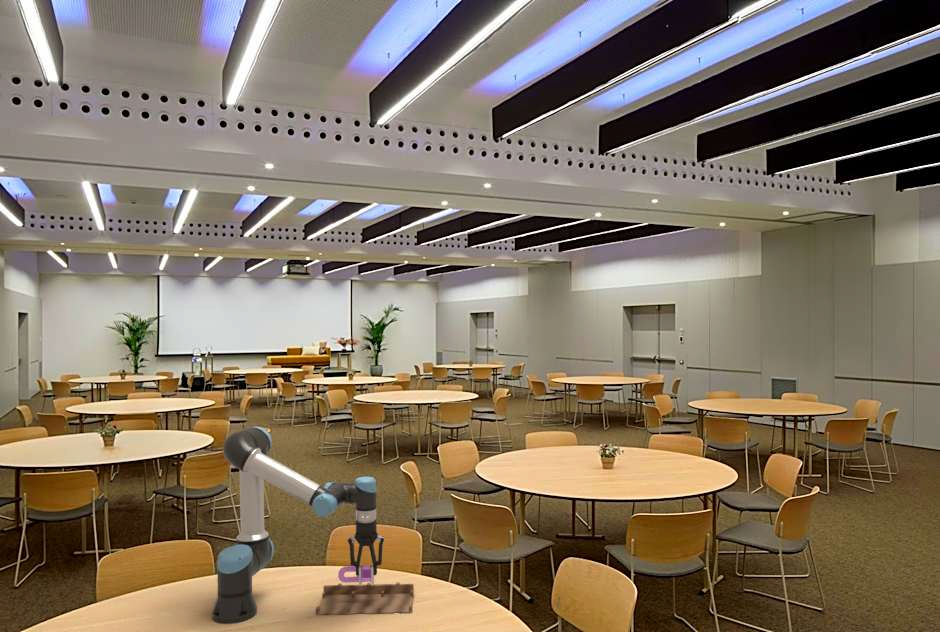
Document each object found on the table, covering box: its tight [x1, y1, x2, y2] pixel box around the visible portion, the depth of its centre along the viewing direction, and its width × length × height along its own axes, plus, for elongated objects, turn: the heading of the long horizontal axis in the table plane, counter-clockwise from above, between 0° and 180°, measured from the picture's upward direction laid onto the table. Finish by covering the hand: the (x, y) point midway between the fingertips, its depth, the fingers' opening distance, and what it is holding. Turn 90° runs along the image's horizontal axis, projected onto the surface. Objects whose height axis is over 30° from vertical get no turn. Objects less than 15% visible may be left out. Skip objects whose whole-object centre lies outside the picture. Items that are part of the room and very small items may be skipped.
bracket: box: [337, 564, 373, 584], centre depth 242 cm, size 13×6×7 cm
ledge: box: [315, 581, 415, 617], centre depth 242 cm, size 34×17×5 cm, turn 92°
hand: (366, 583), depth 241 cm, fingers closed on bracket, 4 cm apart
